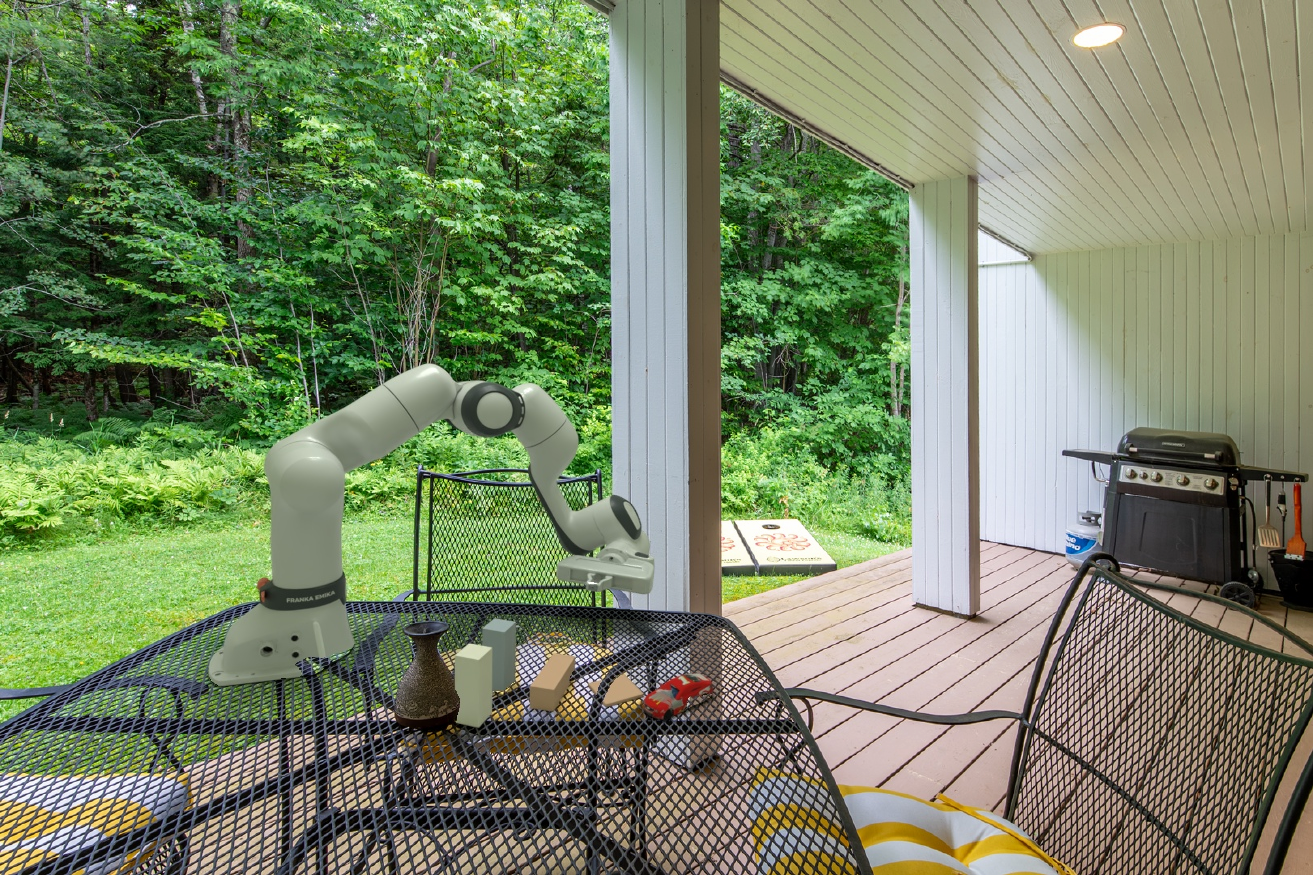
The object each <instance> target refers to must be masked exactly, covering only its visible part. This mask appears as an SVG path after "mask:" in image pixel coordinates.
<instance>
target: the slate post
mask: <svg viewBox="0 0 1313 875" xmlns="http://www.w3.org/2000/svg"><path fill="white" fill-rule="evenodd" d="M481 632H482V635H481V637H482V638H481V640H482V642H481V643H482V644H481V646H486V647H492V691H504V690H506V688H507V687H509V686H510V685H511V684H512V683H514V682H515V683H516V663H517V662H516V658H517V657H516V655H517V653H516V648H517V646H516V644H517V640H516V639H517V621H512V620H505V619H501V618H495V617H494V618H493V619H492V620H491V621H490V622H488V623H487V624H486V625H485V626H483V627H482V631H481ZM515 683H514V684H515Z"/></svg>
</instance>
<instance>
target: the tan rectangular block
mask: <svg viewBox="0 0 1313 875" xmlns="http://www.w3.org/2000/svg"><path fill="white" fill-rule="evenodd" d="M574 670H575V671H576V656H575V655H570V654H562V653H556V652H555V653H554V652H553V653H552V655H551V656H550V658H549V659H548V660H547V662H546V663H545V664H544V666H543V667H542V668H541V670H540V672H538V674H537V675H536V677H535V679H534V680H533V681H532V683H531V684H530V685H529V709H535V710H541V711H548V712H554V711H555V710H556V709H557V706H558V705H559V703H560V702H561V700H562V698H563V697H564V695H565V693H566V692H567V690H568V688H569V687H570V685H571V683H569V678H570V676H571V674H572V672H573V671H574Z"/></svg>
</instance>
